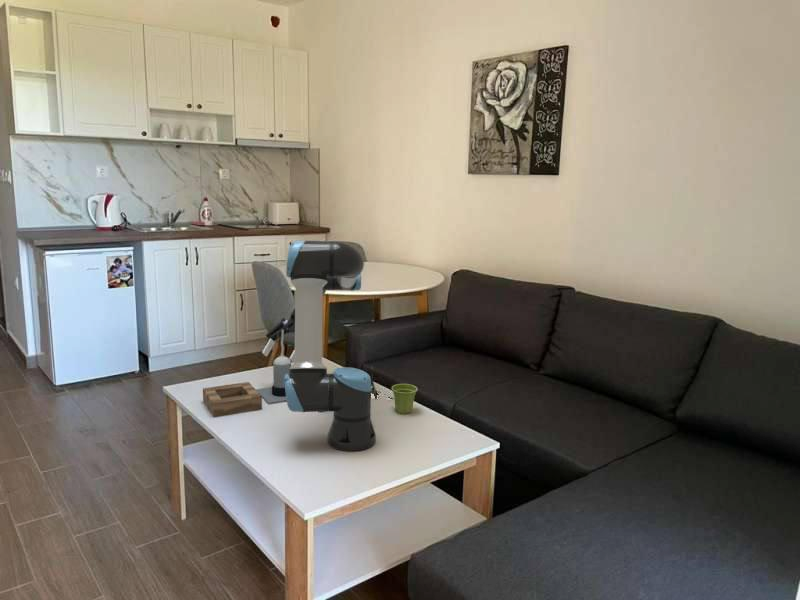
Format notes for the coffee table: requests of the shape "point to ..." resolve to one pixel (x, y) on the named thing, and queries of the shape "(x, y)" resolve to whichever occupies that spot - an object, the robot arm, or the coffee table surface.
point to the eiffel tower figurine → (374, 387)
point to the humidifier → (280, 372)
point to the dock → (232, 399)
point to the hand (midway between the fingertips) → (277, 357)
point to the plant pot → (404, 397)
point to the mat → (270, 396)
